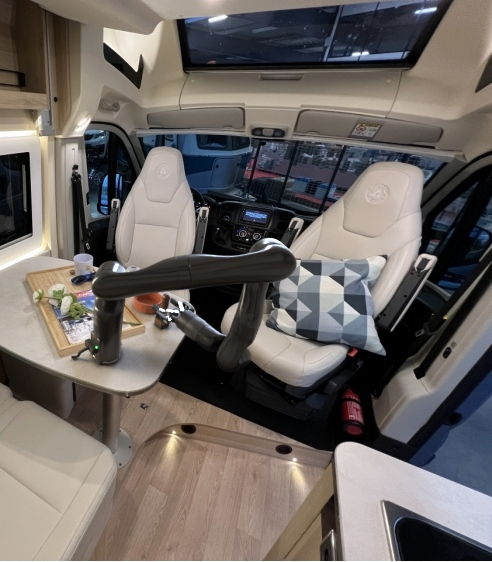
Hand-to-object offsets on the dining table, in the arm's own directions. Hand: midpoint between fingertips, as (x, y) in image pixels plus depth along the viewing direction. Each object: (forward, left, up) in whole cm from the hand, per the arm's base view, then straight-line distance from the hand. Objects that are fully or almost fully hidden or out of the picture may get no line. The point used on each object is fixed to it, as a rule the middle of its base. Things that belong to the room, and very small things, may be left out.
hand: (162, 302), depth 109 cm
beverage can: (+4, +24, -10) cm, 27 cm away
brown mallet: (0, -2, -10) cm, 10 cm away
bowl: (+3, +11, -10) cm, 15 cm away
